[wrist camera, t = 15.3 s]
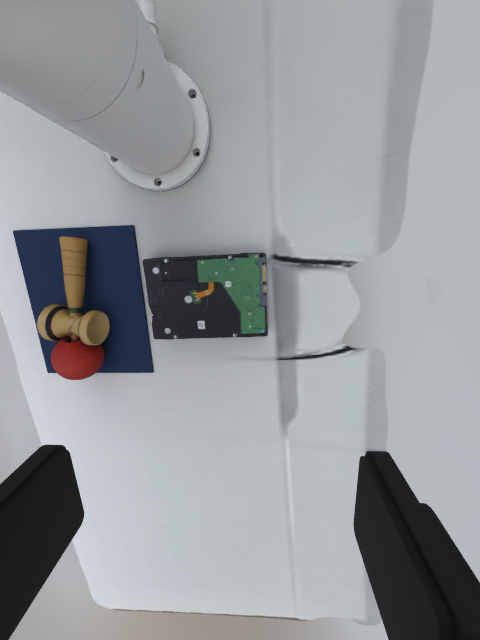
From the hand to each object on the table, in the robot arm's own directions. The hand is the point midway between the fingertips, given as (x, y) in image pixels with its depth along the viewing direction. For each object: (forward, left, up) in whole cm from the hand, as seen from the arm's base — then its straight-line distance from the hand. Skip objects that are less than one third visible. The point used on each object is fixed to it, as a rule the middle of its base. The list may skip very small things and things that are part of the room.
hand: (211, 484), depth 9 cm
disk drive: (-1, -5, -28) cm, 29 cm away
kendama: (0, -22, -28) cm, 36 cm away
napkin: (0, -22, -28) cm, 36 cm away
